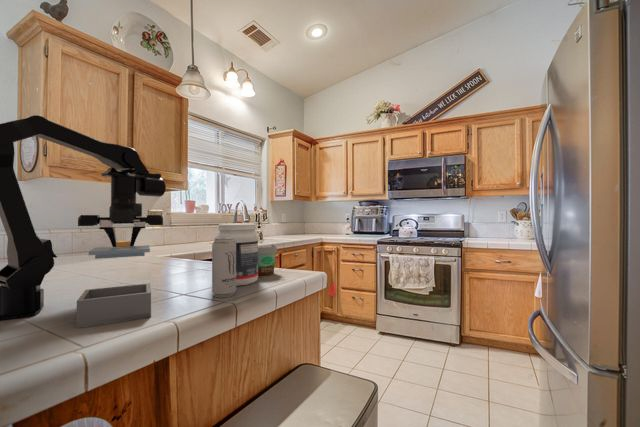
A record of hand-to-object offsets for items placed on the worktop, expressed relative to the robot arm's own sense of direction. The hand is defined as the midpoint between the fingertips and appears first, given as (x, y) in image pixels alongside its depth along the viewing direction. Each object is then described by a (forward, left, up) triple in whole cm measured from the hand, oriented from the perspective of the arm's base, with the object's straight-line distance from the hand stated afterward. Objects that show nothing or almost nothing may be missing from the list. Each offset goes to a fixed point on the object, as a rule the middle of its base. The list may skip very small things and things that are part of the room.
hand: (123, 252), depth 81 cm
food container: (+42, +4, -11) cm, 44 cm away
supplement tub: (+30, -3, -11) cm, 32 cm away
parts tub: (0, -21, -11) cm, 24 cm away
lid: (0, -5, 0) cm, 5 cm away
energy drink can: (+23, -16, -11) cm, 30 cm away
